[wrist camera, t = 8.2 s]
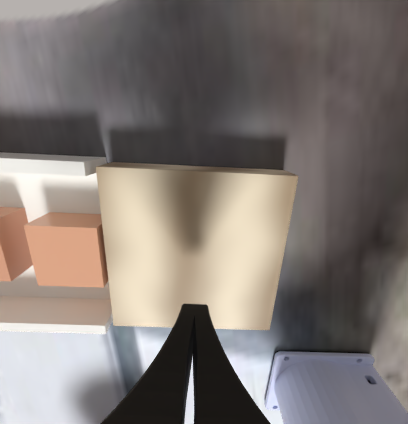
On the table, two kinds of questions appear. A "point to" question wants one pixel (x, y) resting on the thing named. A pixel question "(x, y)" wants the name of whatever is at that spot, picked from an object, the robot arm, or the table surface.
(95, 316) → the tray
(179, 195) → the board
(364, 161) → the table surface
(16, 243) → the tile
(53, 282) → the tile
